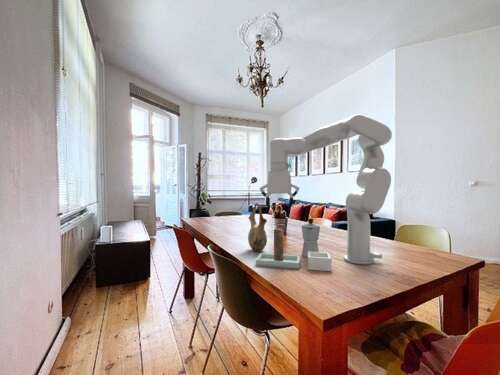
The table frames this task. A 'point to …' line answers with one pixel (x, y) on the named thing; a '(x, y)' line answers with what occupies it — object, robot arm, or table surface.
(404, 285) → the table surface
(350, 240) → the robot arm
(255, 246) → the ceramic vessel
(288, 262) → the tray
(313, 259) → the white square ring
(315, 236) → the coffee maker
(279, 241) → the dowel
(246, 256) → the table surface
